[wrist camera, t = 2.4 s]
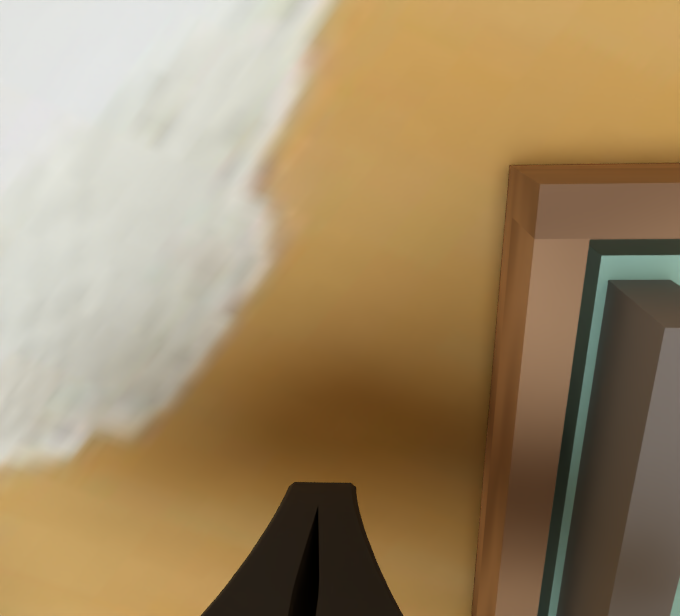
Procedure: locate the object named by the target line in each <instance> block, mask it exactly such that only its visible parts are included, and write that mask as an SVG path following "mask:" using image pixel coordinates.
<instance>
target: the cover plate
mask: <svg viewBox="0 0 680 616" xmlns="http://www.w3.org/2000/svg"><path fill="white" fill-rule="evenodd" d="M537 616H680V239H614V240H590V241H589V249H588V256H587V263H586V270H585V277H584V284H583V291H582V299H581V306H580V313H579V320H578V327H577V334H576V341H575V349H574V356H573V363H572V370H571V377H570V384H569V392H568V399H567V406H566V413H565V420H564V427H563V434H562V442H561V449H560V456H559V463H558V470H557V477H556V484H555V492H554V499H553V506H552V513H551V520H550V527H549V535H548V542H547V549H546V556H545V563H544V570H543V577H542V585H541V592H540V599H539V606H538V613H537Z"/></svg>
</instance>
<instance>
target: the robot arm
mask: <svg viewBox="0 0 680 616" xmlns="http://www.w3.org/2000/svg"><path fill="white" fill-rule="evenodd" d="M201 616H403V614H402V613H401V611H400V609H399V607H398V605H397V603H396V601H395V599H394V598H393V596H392V594H391V592H390V590H389V587H388V585H387V583H386V581H385V579H384V577H383V575H382V573H381V570H380V568H379V566H378V563H377V561H376V559H375V556H374V553H373V551H372V548H371V546H370V543H369V541H368V538H367V535H366V532H365V529H364V526H363V522H362V519H361V516H360V512H359V507H358V502H357V496H356V487H355V486H354V485H353V484H352V483H316V482H294V483H293V484H292V485H290V486H289V488H288V490H287V492H286V494H285V496H284V498H283V500H282V502H281V504H280V506H279V508H278V510H277V511H276V513H275V515H274V517H273V518H272V520H271V522H270V523H269V525H268V527H267V528H266V530H265V531H264V533H263V534H262V536H261V537H260V539H259V541H258V542H257V544H256V545H255V547H254V548H253V550H252V551H251V553H250V554H249V556H248V557H247V558H246V560H245V561H244V562H243V564H242V565H241V566H240V568H239V569H238V570H237V572H236V573H235V574H234V576H233V577H232V579H231V580H230V581H229V583H228V584H227V585H226V586H225V588H224V589H223V590H222V591H221V593H220V594H219V595H218V596H217V597H216V599H215V600H214V601H213V602H212V603H211V605H210V606H209V607H208V608H207V609H206V610H205V611H204V612H203V614H202V615H201Z"/></svg>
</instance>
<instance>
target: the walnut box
mask: <svg viewBox="0 0 680 616" xmlns="http://www.w3.org/2000/svg"><path fill="white" fill-rule="evenodd" d="M614 239H680V163H651V164H570V165H510V170H509V182H508V193H507V205H506V217H505V229H504V240H503V252H502V264H501V276H500V287H499V299H498V311H497V323H496V334H495V346H494V358H493V370H492V381H491V393H490V405H489V417H488V428H487V440H486V452H485V464H484V475H483V487H482V499H481V511H480V522H479V534H478V546H477V558H476V569H475V581H474V593H473V604H472V616H537V613H538V606H539V599H540V592H541V585H542V577H543V570H544V563H545V556H546V549H547V542H548V535H549V527H550V520H551V513H552V506H553V499H554V492H555V484H556V477H557V470H558V463H559V456H560V449H561V442H562V434H563V427H564V420H565V413H566V406H567V399H568V392H569V384H570V377H571V370H572V363H573V356H574V349H575V341H576V334H577V327H578V320H579V313H580V306H581V299H582V291H583V284H584V277H585V270H586V263H587V256H588V249H589V241H590V240H614Z"/></svg>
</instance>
